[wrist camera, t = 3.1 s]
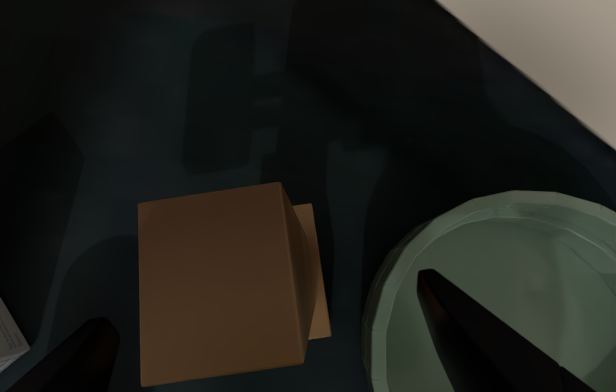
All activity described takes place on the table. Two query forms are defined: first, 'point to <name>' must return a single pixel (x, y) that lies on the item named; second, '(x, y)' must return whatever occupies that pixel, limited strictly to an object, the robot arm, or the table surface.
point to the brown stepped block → (227, 284)
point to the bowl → (501, 286)
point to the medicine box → (10, 339)
